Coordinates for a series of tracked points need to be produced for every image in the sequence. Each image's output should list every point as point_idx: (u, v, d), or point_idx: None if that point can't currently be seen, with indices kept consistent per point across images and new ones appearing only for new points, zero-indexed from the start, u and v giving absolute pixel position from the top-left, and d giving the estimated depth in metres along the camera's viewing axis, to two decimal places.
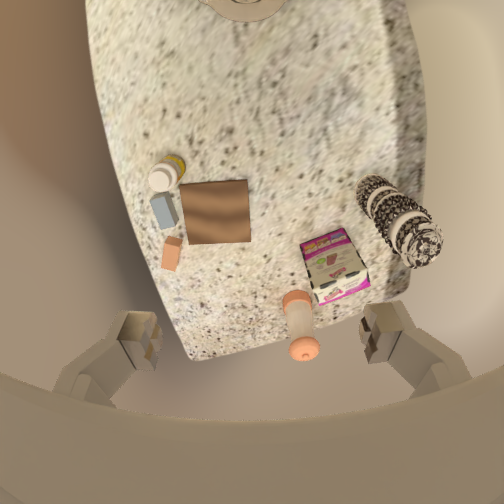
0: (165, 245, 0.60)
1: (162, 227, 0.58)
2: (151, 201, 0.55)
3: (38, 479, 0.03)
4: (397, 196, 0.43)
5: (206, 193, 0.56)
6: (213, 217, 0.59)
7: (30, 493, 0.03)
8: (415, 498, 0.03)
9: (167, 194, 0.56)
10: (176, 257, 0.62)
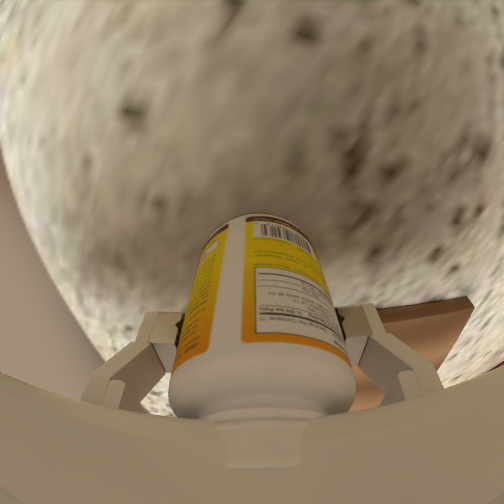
0: None
1: None
2: None
3: (38, 479, 0.03)
4: None
5: None
6: (359, 388, 0.19)
7: (30, 493, 0.03)
8: (415, 498, 0.03)
9: None
10: None
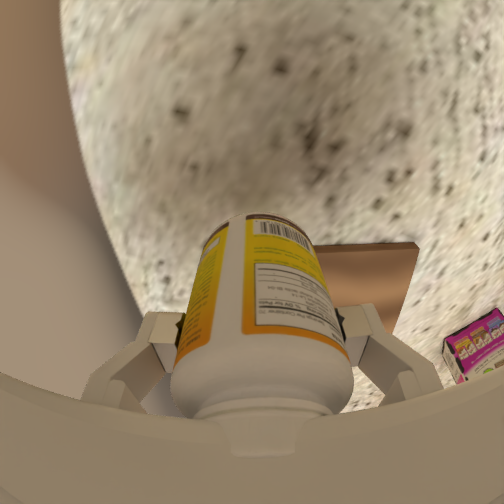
0: None
1: None
2: None
3: (38, 479, 0.03)
4: None
5: (333, 273, 0.24)
6: None
7: (30, 493, 0.03)
8: (415, 498, 0.03)
9: None
10: None
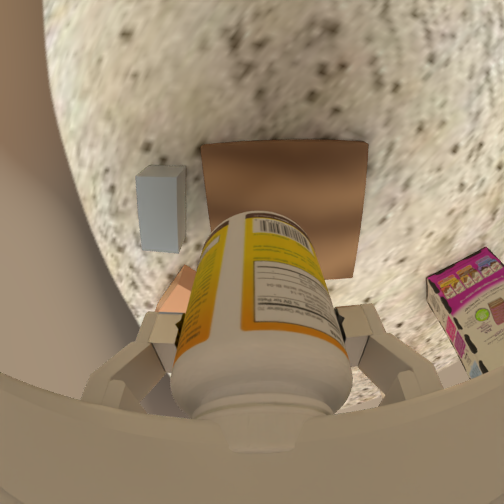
0: (177, 288, 0.27)
1: (147, 246, 0.24)
2: (139, 179, 0.21)
3: (38, 479, 0.03)
4: None
5: (270, 167, 0.22)
6: None
7: (30, 493, 0.03)
8: (415, 498, 0.03)
9: (182, 174, 0.23)
10: None
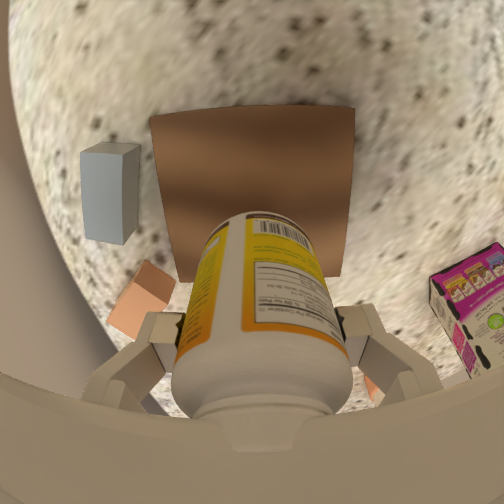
0: (133, 287, 0.22)
1: (90, 234, 0.19)
2: (84, 156, 0.16)
3: (38, 479, 0.03)
4: None
5: (231, 137, 0.18)
6: (248, 211, 0.20)
7: (30, 493, 0.03)
8: (415, 498, 0.03)
9: (133, 152, 0.18)
10: None
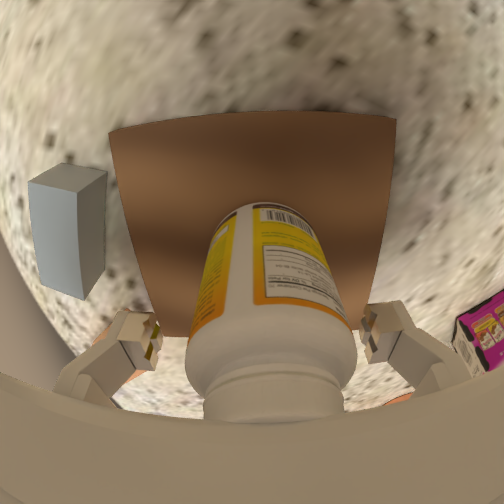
0: None
1: (46, 282, 0.14)
2: (32, 187, 0.11)
3: (38, 479, 0.03)
4: None
5: (221, 159, 0.12)
6: None
7: (30, 493, 0.03)
8: (415, 498, 0.03)
9: (96, 185, 0.13)
10: (131, 376, 0.19)
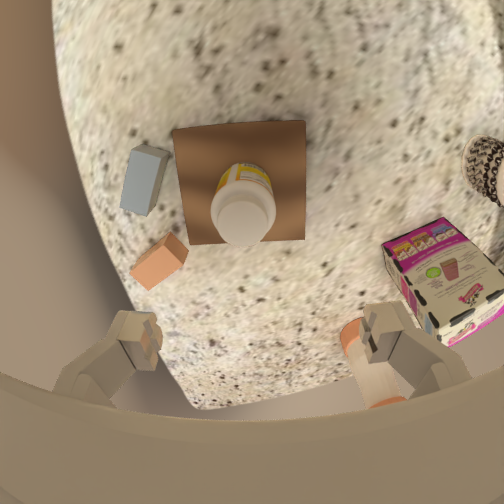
0: (161, 248, 0.32)
1: (124, 205, 0.29)
2: (133, 152, 0.26)
3: (38, 479, 0.03)
4: None
5: (225, 143, 0.28)
6: None
7: (30, 493, 0.03)
8: (415, 498, 0.03)
9: (165, 157, 0.28)
10: (166, 275, 0.34)
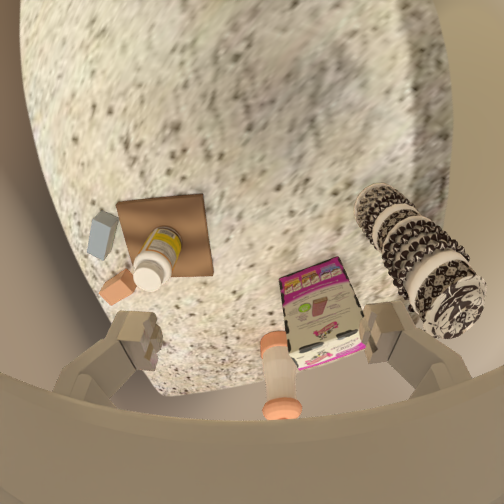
0: (119, 281, 0.45)
1: (89, 251, 0.42)
2: (94, 221, 0.39)
3: (38, 479, 0.03)
4: (419, 222, 0.27)
5: (149, 214, 0.40)
6: None
7: (30, 493, 0.03)
8: (415, 498, 0.03)
9: (115, 223, 0.41)
10: (122, 297, 0.47)
